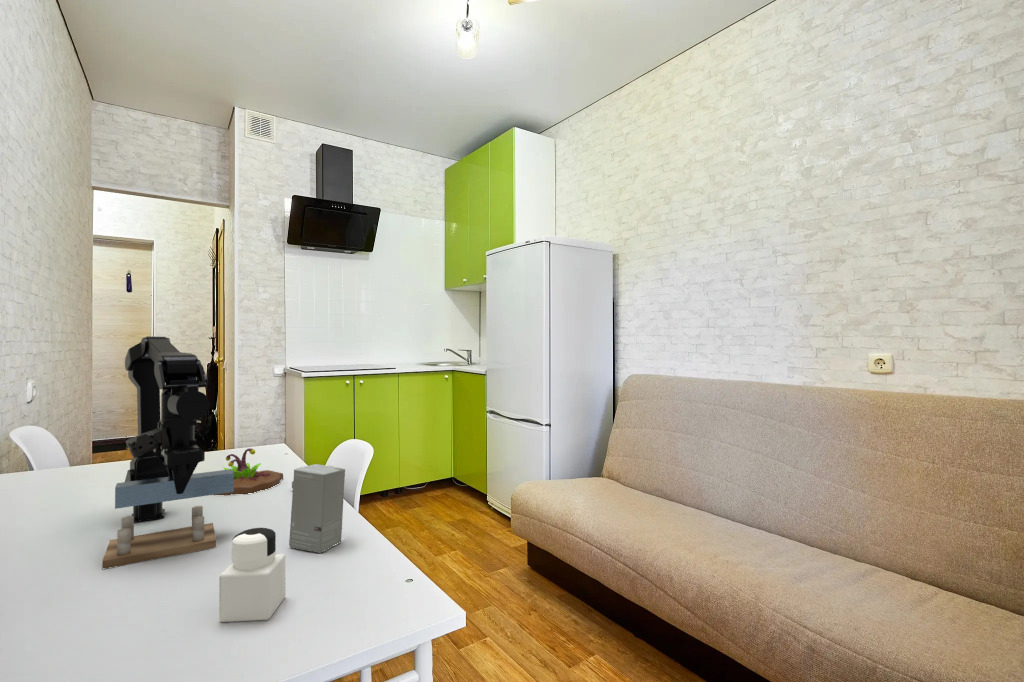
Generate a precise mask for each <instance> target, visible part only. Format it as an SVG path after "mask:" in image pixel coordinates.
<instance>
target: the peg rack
mask: <svg viewBox="0 0 1024 682" xmlns="http://www.w3.org/2000/svg"><path fill="white" fill-rule="evenodd" d="M203 511H204V507H203V505H197V506H196V505H195V506H192V507H191V526H186V527H180V528H175V529H167V530H162V531H156V532H150V533H145V534H139V535H134V534H135V531H134V530H135V526H134V525H135V522H134V516H131V515H128V516H123V517H122V518H121V523H120V525H121V527H120V529H117V536H116V538H114V539H109V541H108V544H107V546H106V550H105V553H104V556H103V558H102V560H101V561H102V563H101V564H102V565H101V567H102V568H101V569H102V570H104V569H103V568H107V569H110V568H109V567H112V568H116V567H115V566H117V567H121V566H128V565H133V564H137V563H144V562H147V561H152V560H158V559H163V558H167V557H169V558H170V557H174V556H179V555H184V554H191V553H194V552H195V553H196V552H200V550H201V551H205V549H206V550H210V549H216V548H217V538H216V531H215V526H214V522H210V523H205V516H203V515H204V512H203ZM215 547H216V548H215ZM127 564H128V565H127Z"/></svg>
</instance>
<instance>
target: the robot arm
mask: <svg viewBox="0 0 1024 682" xmlns="http://www.w3.org/2000/svg"><path fill="white" fill-rule="evenodd" d="M124 367H125V368H124V369H125V371H126V372H127V373H128V380H129V381H131V383H132V384H133V385H134V386H135V388H136V400H137V401H136V402H137V435H135V436H133V437H131V438H128V439H127V440H125V441H124V442H125V443H126V446H127V447H128V450H129V452H130V454H131V456H132V459H131V460H130V462H129V469H128V470H127V473H126V476H125V479H124V482H131V481H139V480H147V479H155V478H163V477H172V476H173V479H174V484H175V489H176V493H177V494H182V493H183V492H184V490H185V488H186V486H187V484H188V482H189V480H190V478H191V476H192V474H194V472H195V470H196V468H197V467H198V465H199V463H200V462H204V461H205V450H203V449H202V448H201V447H199V446H198V445H197V439H195V426H197V422H198V421H197V420H200V419H202V418H203V417H205V416H206V415H207V414H208V412H209V409H210V406H211V402H210V400H209V397H208V396H207V395H206V394H205V393H204V392H202V391H199V389H200V388H207V383H208V377H207V375H206V371H205V368H204V365H203V364H202V362H201V360H200V359H199V358H198V356H197V355H196V354H194V353H190V352H181V351H180V350H179V349H177V348H176V347H175V346H174V344H173V343H171V339H170V337H166V336H150V335H149V336H145V337H142V338H141V341H140V342H138V343H137V344H135V345H132V346H131V347H129V348H128V350H127V353H126V355H125V359H124ZM161 390H162V391H161ZM205 462H206V461H205ZM163 503H164V502H159V503H152V504H145V505H138V506H132V513H131V515H130V516H134V523H138V522H144V521H151V520H152V521H153V520H157V519H158V520H159V519H163V518H165V513H166V509H165V508H163Z"/></svg>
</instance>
